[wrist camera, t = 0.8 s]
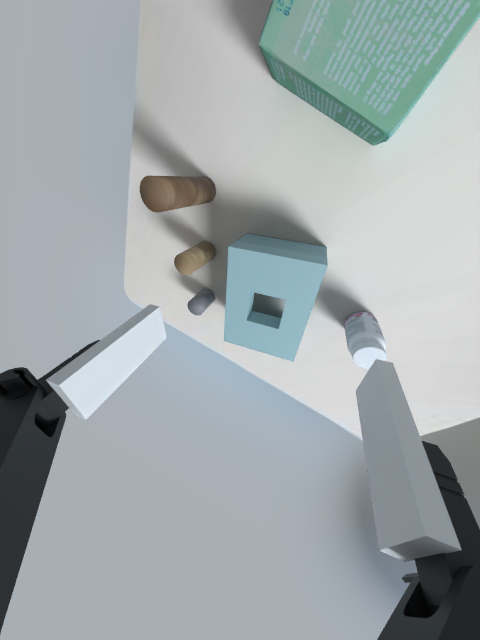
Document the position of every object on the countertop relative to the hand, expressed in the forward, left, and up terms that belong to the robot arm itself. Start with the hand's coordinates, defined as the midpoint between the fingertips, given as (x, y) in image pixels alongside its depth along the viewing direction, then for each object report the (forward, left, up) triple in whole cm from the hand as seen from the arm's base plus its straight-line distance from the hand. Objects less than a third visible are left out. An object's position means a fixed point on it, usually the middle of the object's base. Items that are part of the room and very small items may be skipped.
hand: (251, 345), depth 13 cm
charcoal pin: (+12, -15, -23) cm, 30 cm away
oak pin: (+3, -15, -23) cm, 27 cm away
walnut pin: (-6, -15, -23) cm, 28 cm away
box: (-18, +1, -23) cm, 29 cm away
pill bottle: (+10, +13, -23) cm, 29 cm away
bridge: (+7, -2, -23) cm, 24 cm away
